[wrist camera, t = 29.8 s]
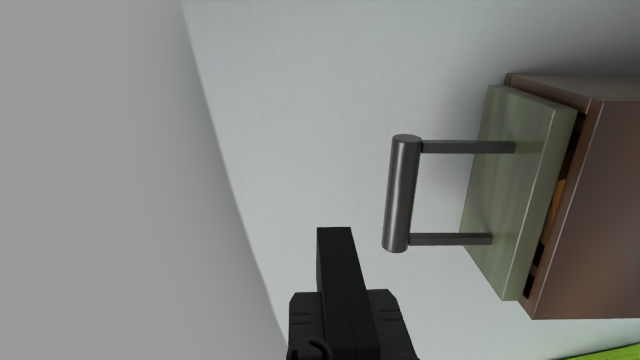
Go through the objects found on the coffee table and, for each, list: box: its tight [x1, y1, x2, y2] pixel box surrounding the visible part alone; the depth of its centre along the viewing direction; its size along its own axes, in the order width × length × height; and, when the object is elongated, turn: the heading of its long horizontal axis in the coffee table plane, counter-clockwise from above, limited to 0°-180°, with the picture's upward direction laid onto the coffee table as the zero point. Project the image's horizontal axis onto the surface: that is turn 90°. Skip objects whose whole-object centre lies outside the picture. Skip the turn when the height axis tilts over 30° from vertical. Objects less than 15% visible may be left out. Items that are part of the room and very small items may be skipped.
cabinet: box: [504, 74, 640, 320], centre depth 23 cm, size 15×13×9 cm
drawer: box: [382, 85, 587, 301], centre depth 23 cm, size 20×11×7 cm, turn 89°
